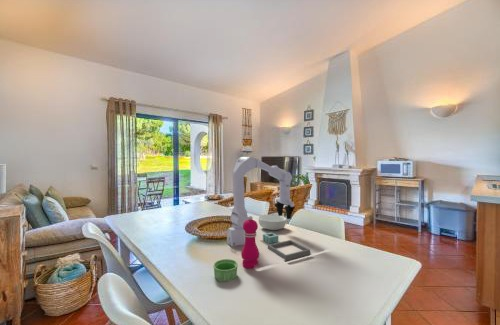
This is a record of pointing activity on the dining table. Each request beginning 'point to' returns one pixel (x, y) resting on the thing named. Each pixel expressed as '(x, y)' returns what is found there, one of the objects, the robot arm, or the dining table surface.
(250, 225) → the pepper mill
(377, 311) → the dining table surface
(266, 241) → the collar
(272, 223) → the cereal bowl
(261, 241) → the stake board
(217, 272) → the ramekin
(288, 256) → the tray
